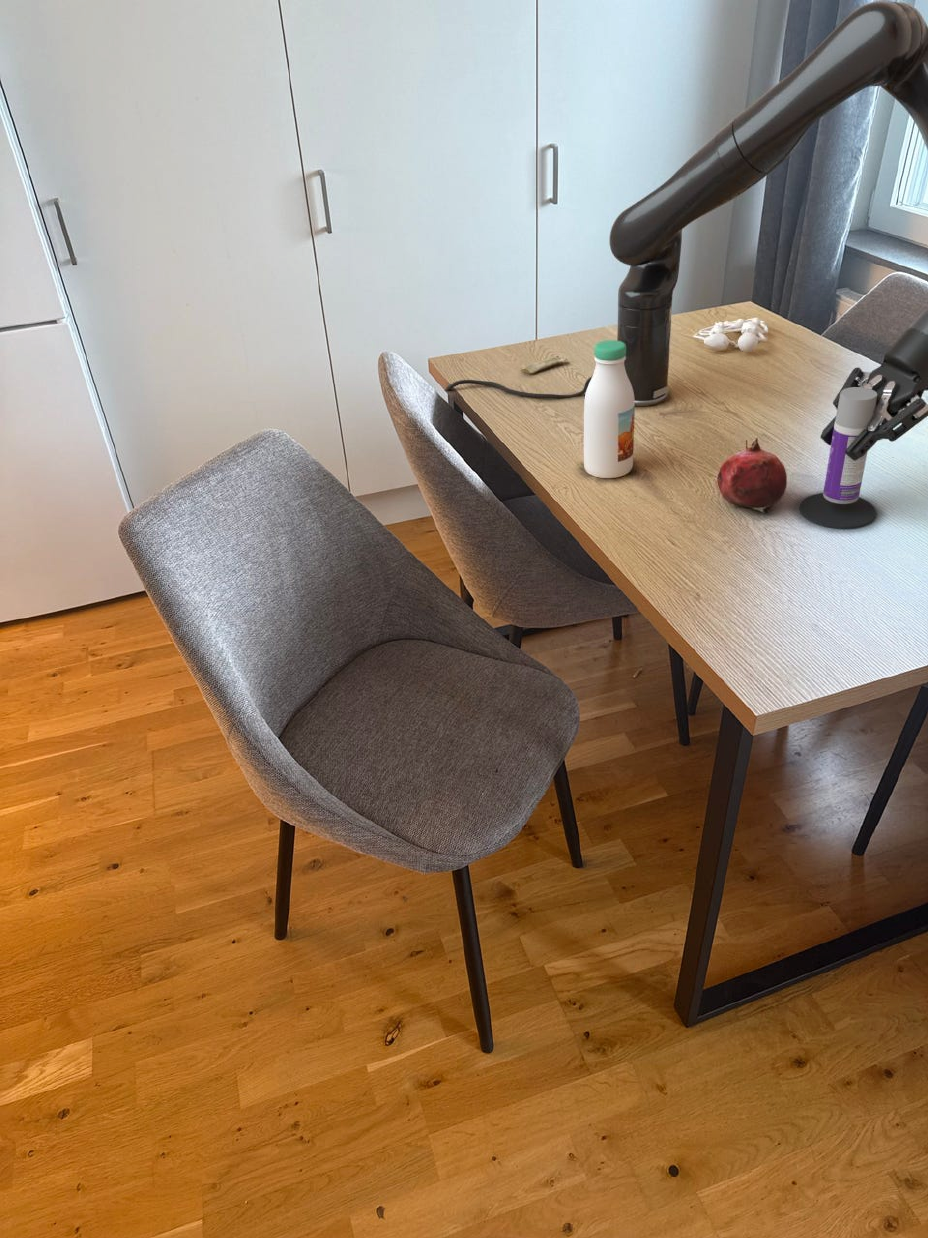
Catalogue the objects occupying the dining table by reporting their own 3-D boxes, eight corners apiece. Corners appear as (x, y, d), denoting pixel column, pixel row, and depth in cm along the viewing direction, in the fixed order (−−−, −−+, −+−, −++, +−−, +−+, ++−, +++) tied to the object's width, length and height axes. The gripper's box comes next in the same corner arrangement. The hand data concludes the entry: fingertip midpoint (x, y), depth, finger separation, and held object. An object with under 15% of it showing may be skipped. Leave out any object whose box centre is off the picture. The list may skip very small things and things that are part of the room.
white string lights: (710, 328, 198) (710, 308, 196) (779, 327, 191) (780, 307, 189) (687, 355, 184) (686, 335, 182) (760, 355, 177) (761, 334, 175)
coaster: (790, 519, 127) (791, 517, 127) (810, 489, 134) (811, 487, 133) (865, 535, 122) (866, 532, 122) (882, 502, 129) (883, 500, 129)
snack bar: (530, 372, 179) (521, 364, 181) (528, 378, 181) (520, 370, 182) (568, 359, 183) (559, 351, 185) (566, 365, 184) (558, 357, 186)
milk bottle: (601, 484, 140) (603, 357, 128) (574, 466, 146) (573, 343, 134) (642, 470, 143) (647, 345, 131) (614, 453, 148) (616, 332, 137)
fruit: (773, 525, 126) (782, 459, 120) (706, 511, 131) (712, 447, 125) (792, 496, 132) (801, 432, 126) (728, 484, 137) (734, 422, 131)
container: (817, 490, 128) (833, 388, 120) (850, 486, 129) (868, 384, 120) (831, 505, 125) (848, 402, 116) (864, 501, 125) (884, 397, 116)
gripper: (881, 312, 121) (791, 415, 125) (960, 344, 110) (857, 455, 114) (907, 344, 125) (819, 443, 130) (986, 378, 114) (885, 484, 118)
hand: (837, 448), depth 122 cm, fingers closed on container, 4 cm apart
